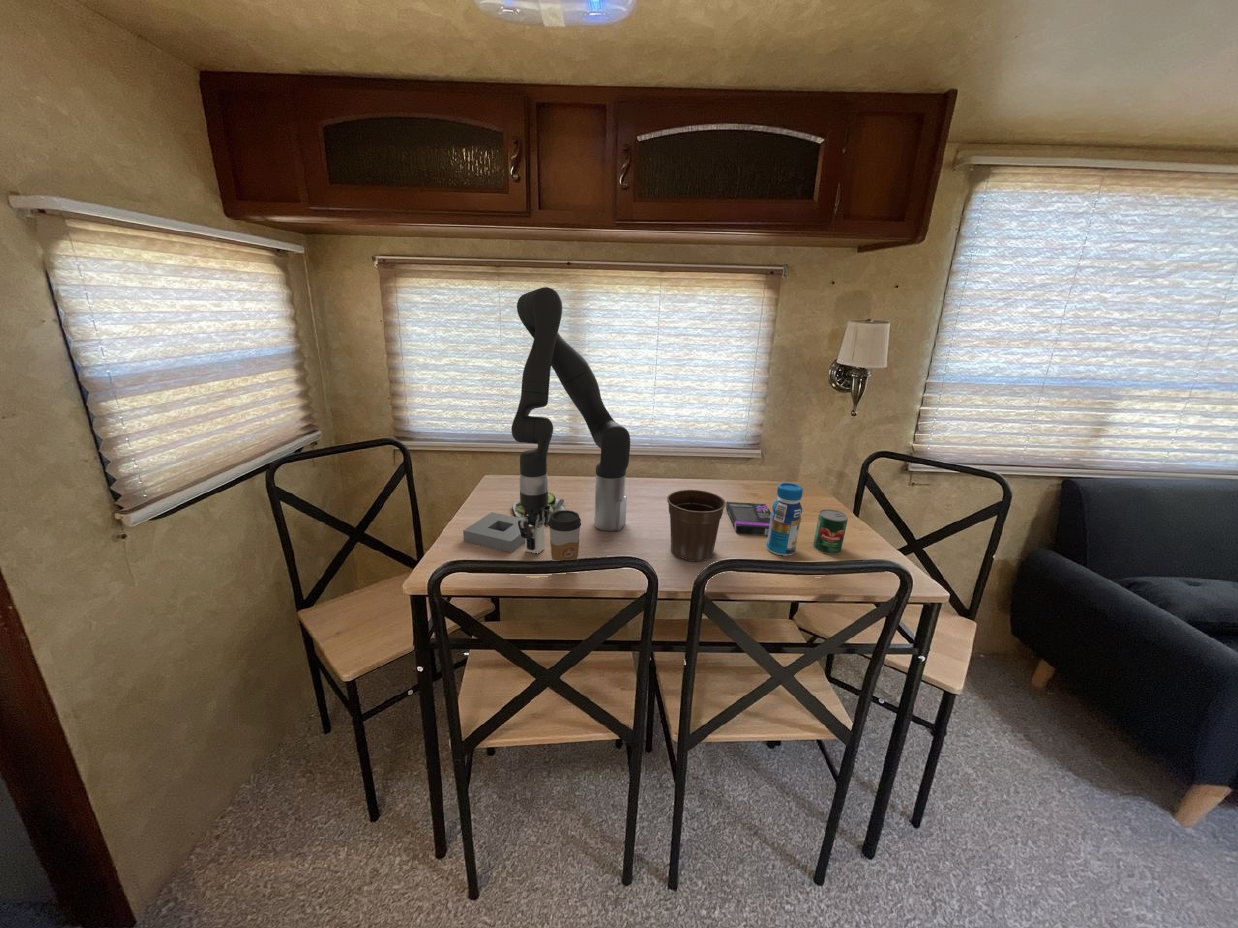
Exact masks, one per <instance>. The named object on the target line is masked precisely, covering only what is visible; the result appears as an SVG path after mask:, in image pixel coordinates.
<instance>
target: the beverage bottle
mask: <svg viewBox="0 0 1238 928" xmlns="http://www.w3.org/2000/svg"><path fill="white" fill-rule="evenodd" d="M803 492H804V488H803V487H802V486H801V485H799V484H796V483H793V482H781V483H779V484H778V485H777V490H776V496H777V498H776V499H775V500H774V501H773V503H772V506H771V509H772V511H770V512H771V514H770V525H769V532H768V535H767V539H766V546H765V547H766V549H767V550H768V551H769V552H771V553H772V554H775V555H777V556H781V555H783V557H785V556H786V557H787V556H788V555H789V556H792V555H794V554H795V552H796V546H797V542H798V541H797V540H798V535H799V530H800V527H801V526H800V524H801V522H802V516H801V514H802V513H803V508H802V504H801V502H800V501H801V500H802V498H803V494H804V493H803Z"/></svg>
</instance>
